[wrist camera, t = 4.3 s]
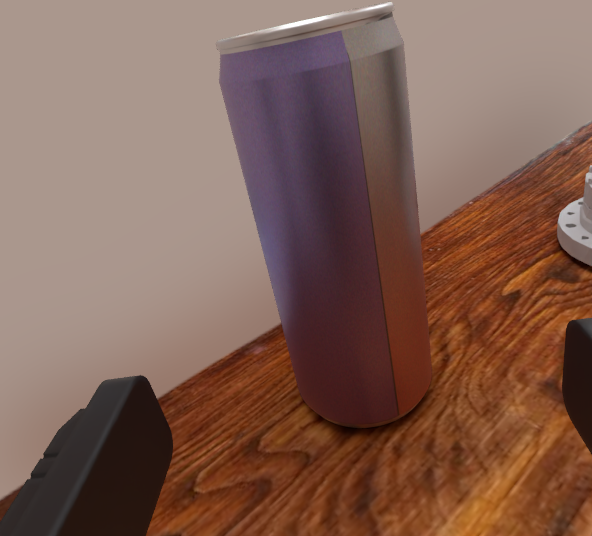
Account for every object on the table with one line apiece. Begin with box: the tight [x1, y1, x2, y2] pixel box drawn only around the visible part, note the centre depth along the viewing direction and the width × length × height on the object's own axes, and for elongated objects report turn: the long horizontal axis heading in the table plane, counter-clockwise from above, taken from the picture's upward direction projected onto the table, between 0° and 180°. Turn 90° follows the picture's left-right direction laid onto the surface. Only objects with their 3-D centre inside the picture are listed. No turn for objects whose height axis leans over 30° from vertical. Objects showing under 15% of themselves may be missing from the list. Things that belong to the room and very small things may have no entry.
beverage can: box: [216, 2, 432, 428], centre depth 18 cm, size 6×6×15 cm
